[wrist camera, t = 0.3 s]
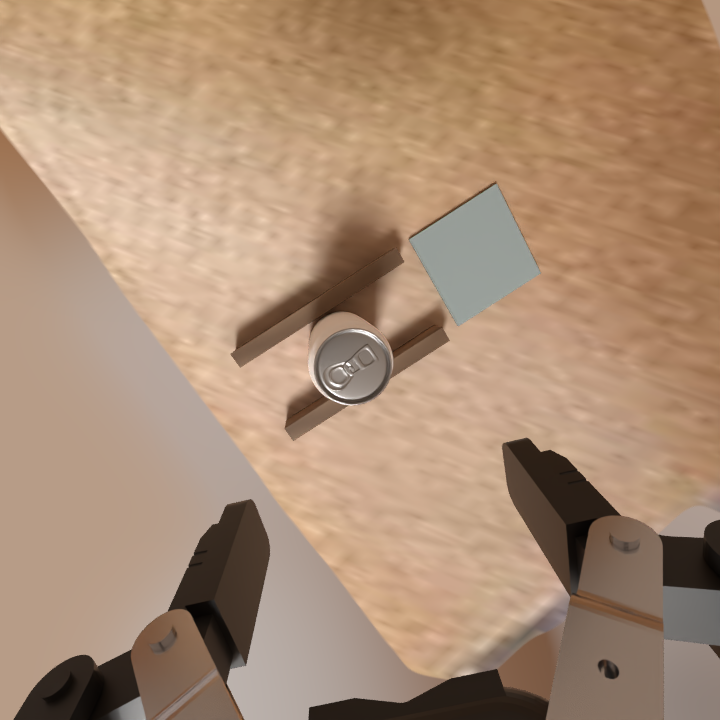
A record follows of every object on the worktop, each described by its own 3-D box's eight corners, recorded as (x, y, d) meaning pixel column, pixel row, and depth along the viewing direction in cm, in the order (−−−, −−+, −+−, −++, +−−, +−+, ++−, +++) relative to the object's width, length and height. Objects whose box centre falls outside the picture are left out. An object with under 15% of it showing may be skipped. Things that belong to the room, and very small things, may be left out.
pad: (408, 239, 39) (409, 239, 38) (495, 184, 39) (496, 183, 38) (457, 325, 41) (458, 326, 41) (539, 273, 41) (540, 273, 41)
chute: (235, 349, 39) (230, 354, 36) (390, 249, 39) (396, 247, 36) (294, 431, 41) (293, 440, 39) (441, 337, 41) (449, 340, 39)
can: (295, 335, 39) (288, 357, 28) (349, 297, 39) (365, 303, 27) (333, 387, 41) (341, 428, 29) (385, 350, 41) (415, 377, 29)
